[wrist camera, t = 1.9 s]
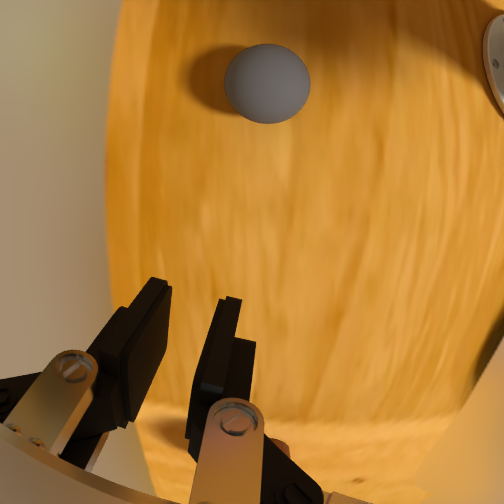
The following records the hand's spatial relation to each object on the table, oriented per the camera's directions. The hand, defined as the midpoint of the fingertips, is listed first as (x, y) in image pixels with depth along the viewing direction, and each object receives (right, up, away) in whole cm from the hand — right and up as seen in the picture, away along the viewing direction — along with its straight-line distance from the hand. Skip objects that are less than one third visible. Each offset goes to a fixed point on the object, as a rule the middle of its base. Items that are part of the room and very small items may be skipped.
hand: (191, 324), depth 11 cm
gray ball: (+3, +13, +8) cm, 16 cm away
